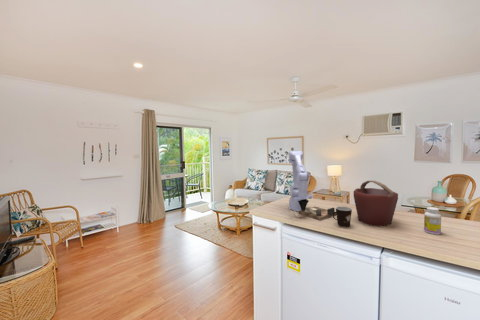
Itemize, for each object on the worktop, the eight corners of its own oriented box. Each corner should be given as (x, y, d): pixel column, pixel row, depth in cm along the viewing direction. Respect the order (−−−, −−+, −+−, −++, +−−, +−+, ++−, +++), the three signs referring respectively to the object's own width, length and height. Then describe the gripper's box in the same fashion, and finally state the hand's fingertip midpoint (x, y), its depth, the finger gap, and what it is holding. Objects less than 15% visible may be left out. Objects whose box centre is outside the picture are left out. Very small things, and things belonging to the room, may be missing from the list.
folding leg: (318, 213, 140) (318, 209, 140) (315, 214, 139) (315, 210, 139) (304, 209, 150) (304, 205, 150) (301, 210, 149) (301, 206, 149)
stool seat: (298, 213, 149) (298, 205, 149) (314, 209, 159) (314, 201, 159) (320, 220, 134) (320, 211, 134) (337, 215, 144) (337, 206, 144)
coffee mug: (348, 222, 130) (348, 206, 129) (354, 228, 121) (354, 210, 120) (328, 222, 131) (328, 206, 130) (333, 227, 122) (333, 210, 122)
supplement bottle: (423, 228, 117) (424, 205, 117) (440, 231, 113) (440, 207, 112) (424, 232, 112) (424, 208, 111) (441, 235, 108) (442, 211, 107)
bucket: (404, 230, 116) (405, 184, 115) (360, 228, 121) (360, 184, 119) (383, 215, 140) (384, 178, 139) (347, 214, 145) (347, 178, 143)
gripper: (299, 192, 134) (300, 214, 134) (315, 189, 141) (315, 210, 142) (291, 191, 140) (291, 211, 141) (306, 188, 147) (307, 207, 148)
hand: (303, 210), depth 142 cm, fingers closed
